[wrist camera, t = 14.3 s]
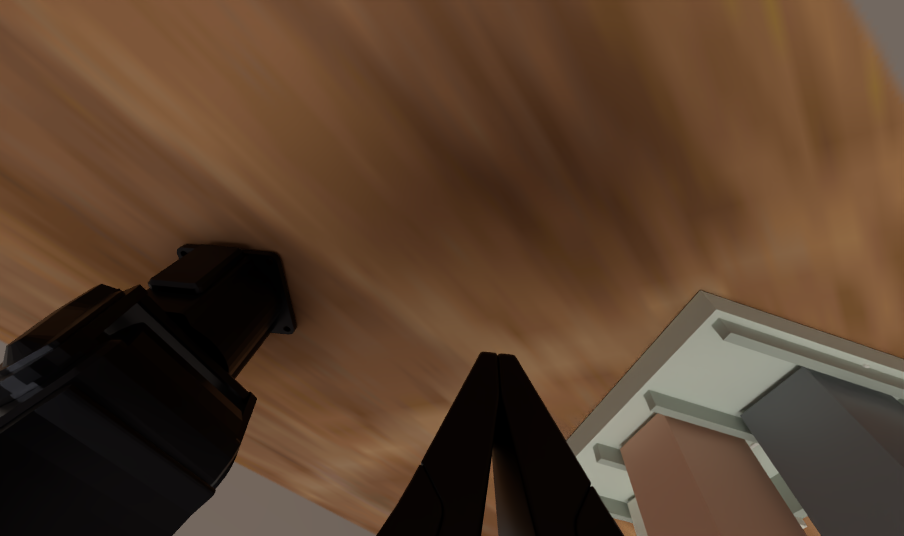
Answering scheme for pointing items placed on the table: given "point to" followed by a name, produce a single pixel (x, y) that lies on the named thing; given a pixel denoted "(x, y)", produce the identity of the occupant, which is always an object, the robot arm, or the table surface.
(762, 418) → the black block
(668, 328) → the pale green divided tray
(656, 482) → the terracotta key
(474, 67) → the table surface
